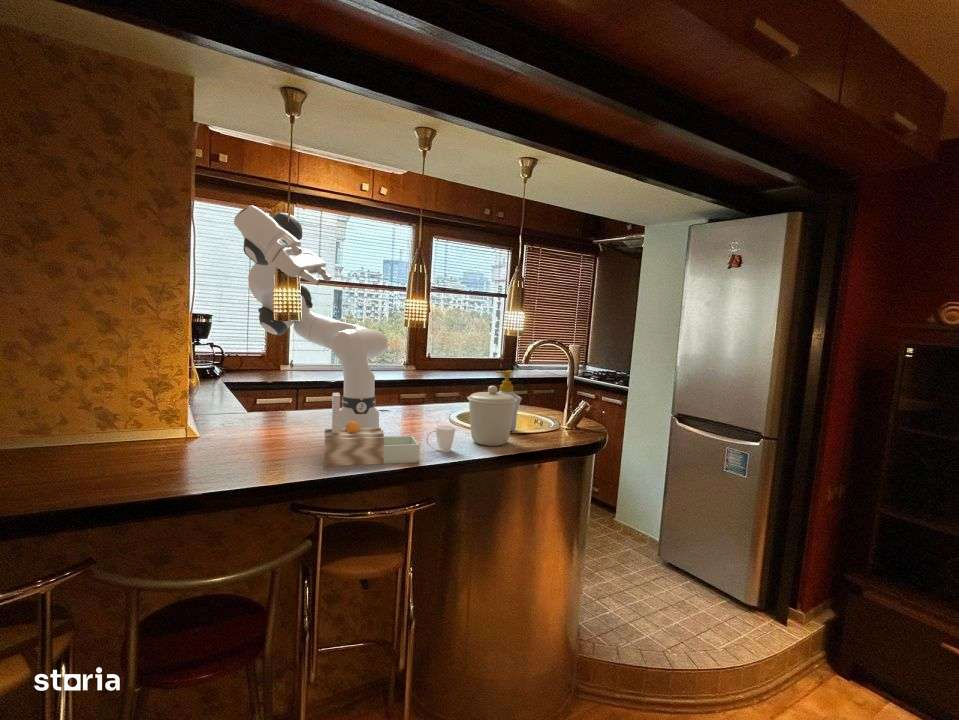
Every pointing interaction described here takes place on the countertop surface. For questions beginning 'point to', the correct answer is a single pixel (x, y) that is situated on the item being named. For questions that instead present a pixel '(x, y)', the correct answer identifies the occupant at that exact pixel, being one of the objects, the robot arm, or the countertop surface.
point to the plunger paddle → (335, 413)
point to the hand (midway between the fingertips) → (323, 281)
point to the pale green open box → (400, 449)
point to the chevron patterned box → (354, 447)
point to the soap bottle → (508, 389)
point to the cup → (443, 437)
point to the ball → (352, 427)
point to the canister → (491, 416)
